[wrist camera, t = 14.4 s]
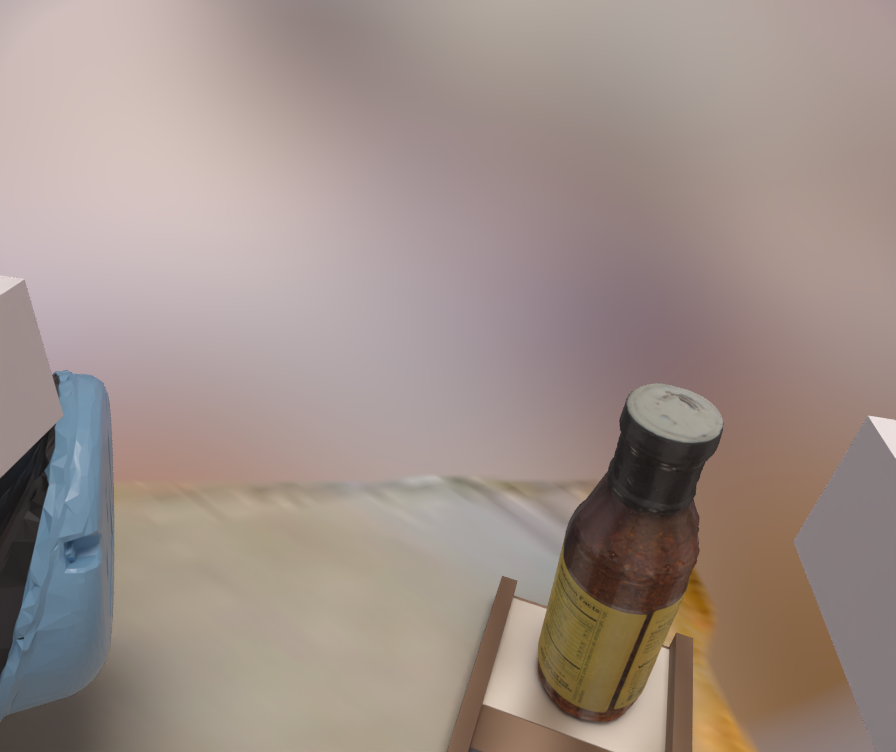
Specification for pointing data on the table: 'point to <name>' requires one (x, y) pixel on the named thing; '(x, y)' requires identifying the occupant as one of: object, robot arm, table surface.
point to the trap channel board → (540, 719)
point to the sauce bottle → (628, 556)
